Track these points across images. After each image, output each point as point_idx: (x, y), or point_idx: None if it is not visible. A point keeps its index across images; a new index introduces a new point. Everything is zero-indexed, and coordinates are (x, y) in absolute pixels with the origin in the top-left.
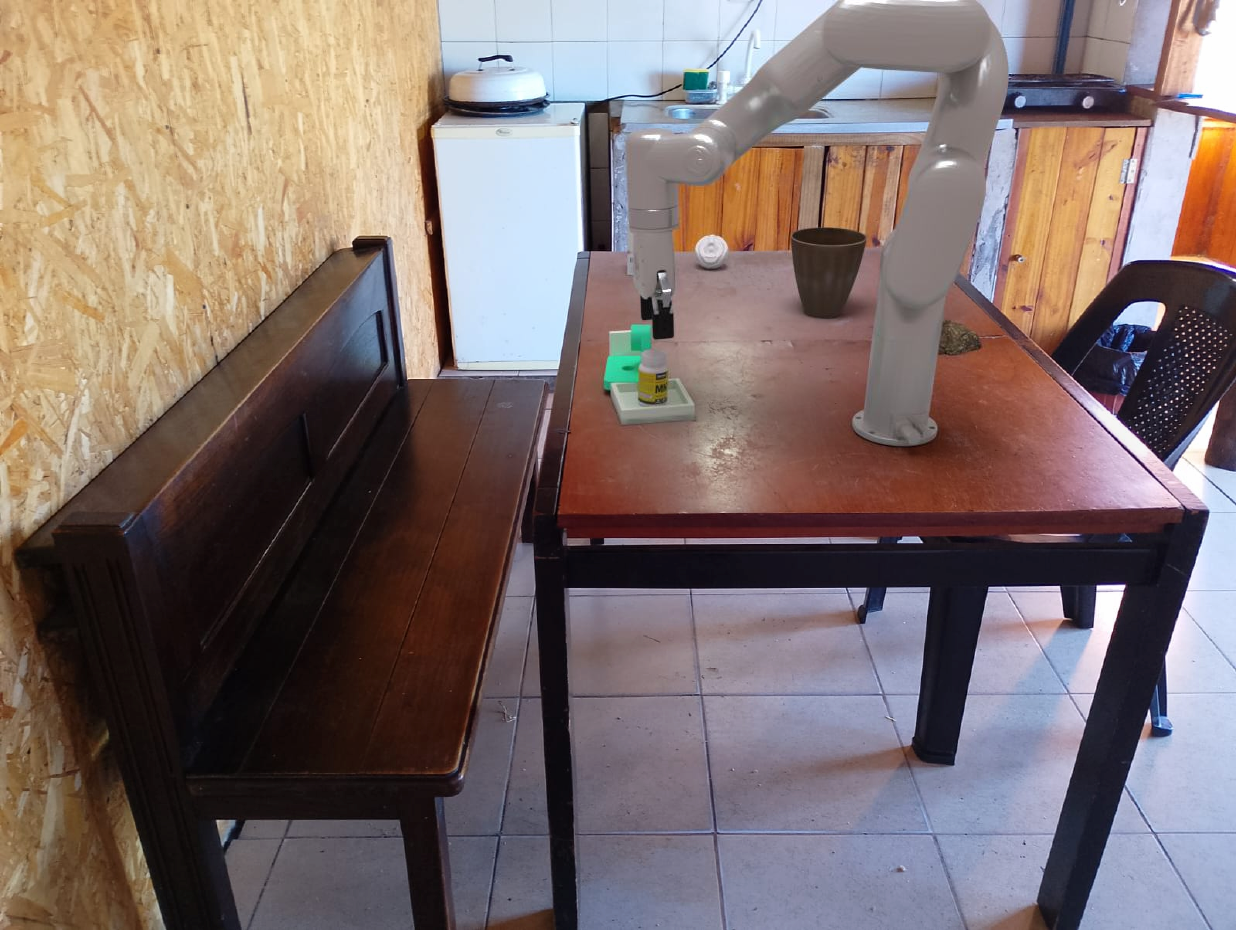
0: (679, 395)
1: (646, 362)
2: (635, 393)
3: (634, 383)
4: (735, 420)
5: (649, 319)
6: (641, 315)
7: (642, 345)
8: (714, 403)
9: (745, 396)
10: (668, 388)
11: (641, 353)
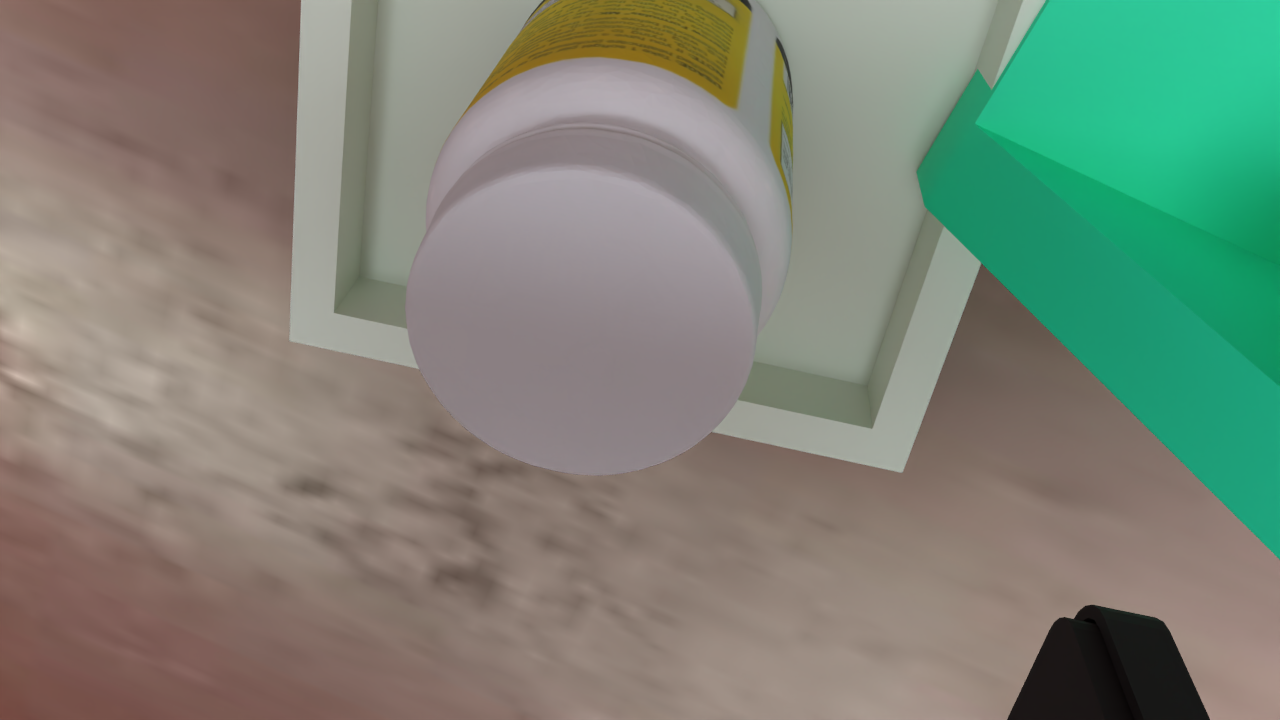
0: None
1: (490, 159)
2: (936, 24)
3: (1001, 60)
4: (264, 506)
5: (1015, 706)
6: (1121, 662)
7: (1258, 392)
8: (580, 519)
9: (619, 713)
10: (885, 338)
11: (646, 184)
